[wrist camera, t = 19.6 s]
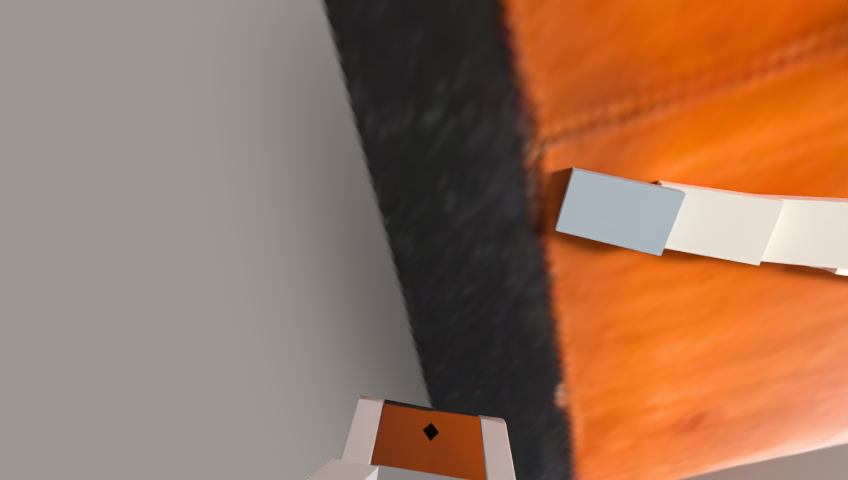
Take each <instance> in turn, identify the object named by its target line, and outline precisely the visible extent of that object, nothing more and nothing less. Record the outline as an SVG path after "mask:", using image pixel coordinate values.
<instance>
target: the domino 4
mask: <svg viewBox="0 0 848 480" xmlns="http://www.w3.org/2000/svg"><path fill="white" fill-rule="evenodd" d="M821 268H823V269H825V270H828V271H830V272H832V273H834V274H839V275H846V276H848V269H838V268H827V267H821Z"/></svg>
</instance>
